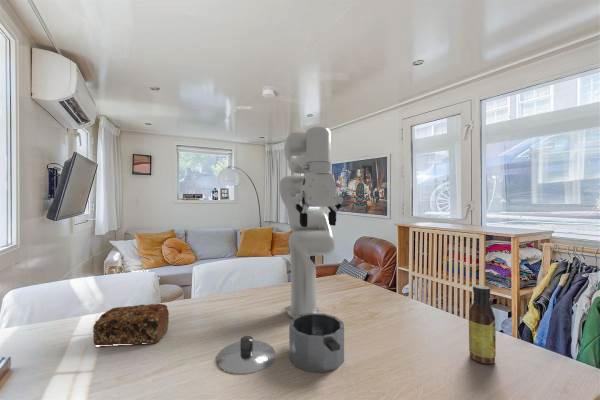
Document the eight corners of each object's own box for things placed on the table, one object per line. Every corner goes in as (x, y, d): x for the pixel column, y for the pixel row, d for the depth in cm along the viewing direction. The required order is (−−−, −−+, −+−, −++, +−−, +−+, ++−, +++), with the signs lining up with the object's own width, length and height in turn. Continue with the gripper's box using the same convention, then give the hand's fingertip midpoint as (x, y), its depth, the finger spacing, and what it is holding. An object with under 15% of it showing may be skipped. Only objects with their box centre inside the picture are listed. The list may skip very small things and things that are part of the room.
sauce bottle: (500, 366, 76) (500, 291, 75) (473, 364, 77) (474, 290, 77) (489, 353, 82) (489, 284, 82) (465, 351, 83) (465, 282, 83)
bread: (169, 329, 97) (169, 300, 97) (157, 346, 86) (156, 313, 86) (111, 332, 95) (111, 302, 95) (91, 349, 84) (90, 315, 84)
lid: (212, 349, 84) (212, 331, 84) (264, 338, 91) (265, 322, 91) (222, 382, 70) (222, 360, 70) (283, 366, 77) (283, 346, 77)
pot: (279, 344, 87) (279, 315, 87) (322, 334, 93) (322, 307, 93) (308, 385, 68) (308, 347, 68) (360, 369, 74) (360, 334, 74)
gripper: (297, 166, 80) (297, 228, 80) (349, 169, 87) (349, 225, 87) (287, 169, 86) (287, 226, 87) (335, 171, 94) (335, 223, 94)
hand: (318, 225), depth 87 cm, fingers open, 9 cm apart
